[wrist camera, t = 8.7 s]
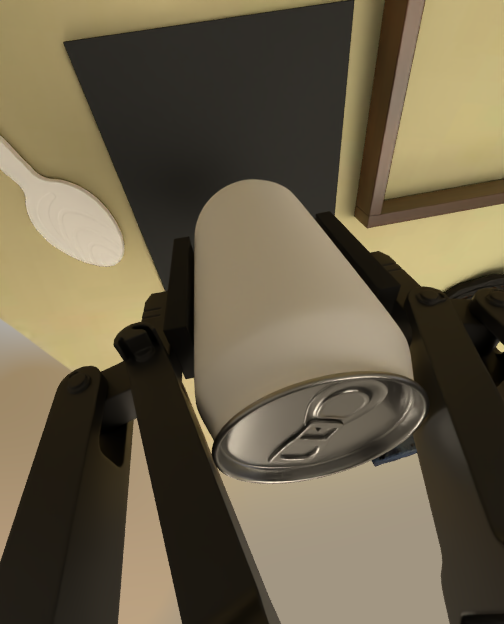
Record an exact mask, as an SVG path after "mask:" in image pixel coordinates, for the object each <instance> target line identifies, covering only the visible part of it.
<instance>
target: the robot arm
mask: <svg viewBox="0 0 504 624" xmlns="http://www.w3.org/2000/svg"><path fill="white" fill-rule="evenodd" d="M315 221H316V222H317V223H318V224H319V226H320V227H321V228H322V229H323V231H324V232H325V233H326V234H327V236H328V237H329V238H330V239H331V241H332V242H333V243H334V244H335V246H336V247H337V248H338V249H339V251H340V252H341V253H342V254H343V256H344V257H345V258H346V259H347V261H348V262H349V263H350V264H351V266H352V267H353V268H354V269H355V271H356V272H357V273H358V275H359V276H360V277H361V278H362V280H363V281H364V282H365V283H366V285H367V286H368V287H369V288H370V290H371V291H372V292H373V294H374V295H375V296H376V297H377V299H378V300H379V301H380V303H381V304H382V305H383V306H384V308H385V309H386V310H387V312H388V313H389V314H390V316H391V317H392V318H393V320H394V321H395V322H396V324H397V325H398V326H399V328H400V329H401V331H402V333H403V334H404V336H405V338H406V340H407V342H408V346H409V349H410V354H411V360H412V369H413V377H414V381H415V382H417V383H418V384H419V385H421V386H422V387H423V389H424V390H425V391H426V393H427V395H428V398H429V411H428V414H427V416H426V418H425V420H424V421H423V423H422V424H421V425H420V427H419V428H418V429H417V430H416V431H415V432H414V433H413V437H414V441H415V445H416V450H417V454H418V457H419V462H420V466H421V470H422V474H423V478H424V482H425V486H426V490H427V494H428V499H429V503H430V507H431V511H432V515H433V518H434V523H435V527H436V531H437V535H438V539H439V544H440V547H441V553H442V571H441V583H442V590H443V595H444V600H445V604H446V609H447V613H448V618H449V622H450V624H504V352H503V353H502V352H500V351H499V350H498V349H497V348H496V346H497V344H498V343H499V342H501V343H502V344H503V345H504V290H502V289H497V288H483V289H480V290H478V291H477V292H476V293H475V294H474V296H473V298H472V299H450V298H449V297H448V296H447V295H446V294H445V293H443V292H442V291H440V290H438V289H435V288H431V287H421V286H420V285H419V284H418V283H417V282H416V281H415V280H414V279H413V278H412V277H411V276H409V275H408V274H407V273H406V272H405V271H404V270H403V269H402V268H401V267H400V266H399V265H398V264H396V262H395V261H394V260H393V259H392V258H391V257H390V256H388V255H386V254H384V253H382V252H379V251H377V252H371V253H370V252H369V251H368V250H367V249H366V248H365V247H364V246H363V245H362V244H361V243H360V242H359V241H358V240H357V239H356V238H355V237H354V236H353V235H352V234H351V233H350V232H349V230H348V229H347V228H346V227H345V226H344V225H343V224H342V223H341V222H340V221H339V220H338V219H337V218H336V217H335V216H334V215H333V214H332V213H331V212H330V211H328V212H323V213H317V214H316V216H315ZM114 347H115V348H116V350H117V351H118V353H119V354H120V356H121V357H122V359H123V360H124V361H123V362H121V363H119V364H117V365H115V366H113V367H110V368H108V369H106V370H104V371H101V372H100V371H99V369H98V368H97V367H93V366H85V367H81V368H79V369H76V370H74V371H73V372H71V373H70V374H68V375H67V376H66V377H65V378H64V379H63V380H62V381H61V383H60V385H59V387H58V388H57V392H56V394H55V397H54V400H53V403H52V406H51V409H50V412H49V415H48V418H47V422H46V425H45V428H44V431H43V434H42V437H41V440H40V443H39V446H38V449H37V452H36V455H35V458H34V461H33V464H32V467H31V470H30V474H29V476H28V479H27V482H26V485H25V488H24V491H23V494H22V497H21V501H20V504H19V507H18V510H17V513H16V516H15V519H14V522H13V525H12V528H11V531H10V534H9V537H8V540H7V543H6V546H5V549H4V552H3V555H2V558H1V561H0V624H118V615H119V600H120V589H121V575H122V563H123V550H124V537H125V523H126V511H127V498H128V486H129V473H130V460H131V446H132V434H133V421H134V419H136V418H137V420H138V425H139V429H140V433H141V438H142V443H143V447H144V452H145V456H146V461H147V465H148V470H149V475H150V479H151V484H152V488H153V493H154V497H155V502H156V506H157V511H158V515H159V520H160V525H161V529H162V533H163V538H164V543H165V547H166V552H167V556H168V561H169V566H170V570H171V575H172V579H173V584H174V588H175V593H176V597H177V602H178V607H179V611H180V616H181V620H182V624H281V623H280V621H279V618H278V616H277V614H276V611H275V609H274V607H273V605H272V603H271V600H270V598H269V596H268V593H267V591H266V588H265V586H264V583H263V581H262V578H261V576H260V573H259V571H258V569H257V566H256V564H255V561H254V559H253V556H252V554H251V551H250V549H249V546H248V544H247V541H246V539H245V536H244V534H243V531H242V529H241V526H240V524H239V521H238V519H237V516H236V514H235V511H234V509H233V506H232V504H231V501H230V499H229V497H228V494H227V492H226V489H225V486H224V484H223V481H222V479H221V477H220V474H219V472H218V469H217V467H216V465H215V464H214V461H213V458H212V454H211V452H210V449H209V447H208V444H207V442H206V439H205V437H204V434H203V432H202V429H201V427H200V424H199V422H198V419H197V417H196V414H195V412H194V409H193V407H192V404H191V402H190V399H189V397H188V395H187V392H186V390H185V387H184V385H183V383H182V372H183V374H184V376H185V379H189V378H194V252H193V248H192V245H191V241H190V238H189V236H187V237H182V238H176V239H174V243H173V251H172V260H171V268H170V276H169V284H168V291H165V292H160V293H154V294H151V296H150V297H149V298H148V300H147V301H146V302H145V307H144V312H143V316H142V321H141V322H138V323H134V324H131V325H129V326H127V327H125V328H124V329H123V330H121V331H120V332H119V333H118V334H117V336H116V338H115V339H114Z"/></svg>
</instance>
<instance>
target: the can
mask: <svg viewBox="0 0 504 624" xmlns="http://www.w3.org/2000/svg"><path fill="white" fill-rule="evenodd" d="M194 383H195V398H196V405H197V409H198V411H199V414H200V416H201V418H202V420H203V422H204V424H205V426H206V427H207V429H208V431H209V433H210V434H211V436H212V438H213V440H214V443H213V446H212V458H213V461H214V464H215V465H216V467H217V468H218V469H219V470H220V471H221V472H222V473H224V474H225V475H227V476H229V477H232V478H234V479H237V480H241V481H245V482H252V483H262V484H278V483H291V482H300V481H306V480H311V479H316V478H320V477H325V476H329V475H332V474H336V473H339V472H342V471H345V470H348V469H351V468H354V467H356V466H359V465H362V464H364V463H366V462H368V461H370V460H373V459H375V458H377V457H379V456H381V455H383V454H385V453H386V452H388V451H390V450H391V449H393V448H395V447H396V446H398V445H399V444H401V443H402V442H403V441H405V440H406V439H407V438H408V437H410V436H411V435H412V434H413V433H414V432H415V431H416V430H417V429H418V428H419V427H420V425H421V424H422V423H423V421H424V420H425V418H426V416H427V414H428V411H429V398H428V395H427V393H426V391H425V390H424V389H423V387H422V386H421V385H419V384H418V383H417V382H415V381H414V377H413V369H412V360H411V354H410V349H409V346H408V342H407V340H406V338H405V336H404V334H403V333H402V331H401V329H400V328H399V326H398V325H397V324H396V322H395V321H394V320H393V318H392V317H391V316H390V314H389V313H388V312H387V310H386V309H385V308H384V306H383V305H382V304H381V303H380V301H379V300H378V299H377V297H376V296H375V295H374V294H373V292H372V291H371V290H370V288H369V287H368V286H367V285H366V283H365V282H364V281H363V280H362V278H361V277H360V276H359V275H358V273H357V272H356V271H355V269H354V268H353V267H352V266H351V264H350V263H349V262H348V261H347V259H346V258H345V257H344V256H343V254H342V253H341V252H340V251H339V249H338V248H337V247H336V246H335V244H334V243H333V242H332V241H331V239H330V238H329V237H328V236H327V234H326V233H325V232H324V231H323V229H322V228H321V227H320V226H319V224H318V223H317V222H316V221H315V219H314V218H313V217H312V216H311V215H310V213H309V212H308V211H307V210H306V208H305V207H304V206H303V205H302V204H301V202H300V201H299V200H298V199H297V198H296V197H295V195H294V194H293V193H292V192H291V191H289V190H288V189H287V188H285V187H283V186H282V185H279V184H277V183H274V182H270V181H265V180H257V179H250V180H242V181H238V182H235V183H232V184H230V185H228V186H226V187H224V188H223V189H221V190H220V191H218V192H217V193H216V194H215V195H213V196H212V197H211V198H210V199H209V201H208V202H207V203H206V204H205V206H204V207H203V209H202V211H201V213H200V215H199V217H198V220H197V224H196V228H195V240H194Z"/></svg>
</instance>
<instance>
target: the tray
mask: <svg viewBox="0 0 504 624" xmlns="http://www.w3.org/2000/svg"><path fill="white" fill-rule="evenodd" d="M424 5H425V0H385V5H384V12H383V19H382V26H381V33H380V40H379V47H378V54H377V61H376V68H375V75H374V82H373V89H372V96H371V103H370V110H369V117H368V124H367V131H366V138H365V145H364V152H363V159H362V166H361V173H360V180H359V187H358V194H357V201H356V207H355V214H354V216H355V217H356V218H357V219H358V220H359V221H360V222H361V223H362V224H363V225H364V226H365V227H366V228H371V227H376V226H382V225H387V224H393V223H399V222H404V221H410V220H415V219H421V218H426V217H432V216H437V215H443V214H448V213H454V212H459V211H465V210H470V209H476V208H481V207H487V206H492V205H498V204H503V203H504V179H501V180H495V181H490V182H484V183H478V184H473V185H467V186H461V187H456V188H450V189H445V190H439V191H433V192H428V193H422V194H416V195H411V196H405V197H399V198H394V199H388V200H384V196H385V192H386V187H387V182H388V177H389V172H390V168H391V163H392V158H393V153H394V148H395V144H396V139H397V134H398V129H399V124H400V120H401V115H402V110H403V105H404V100H405V96H406V91H407V86H408V81H409V76H410V72H411V67H412V62H413V57H414V52H415V48H416V43H417V38H418V33H419V28H420V24H421V19H422V14H423V9H424Z"/></svg>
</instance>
